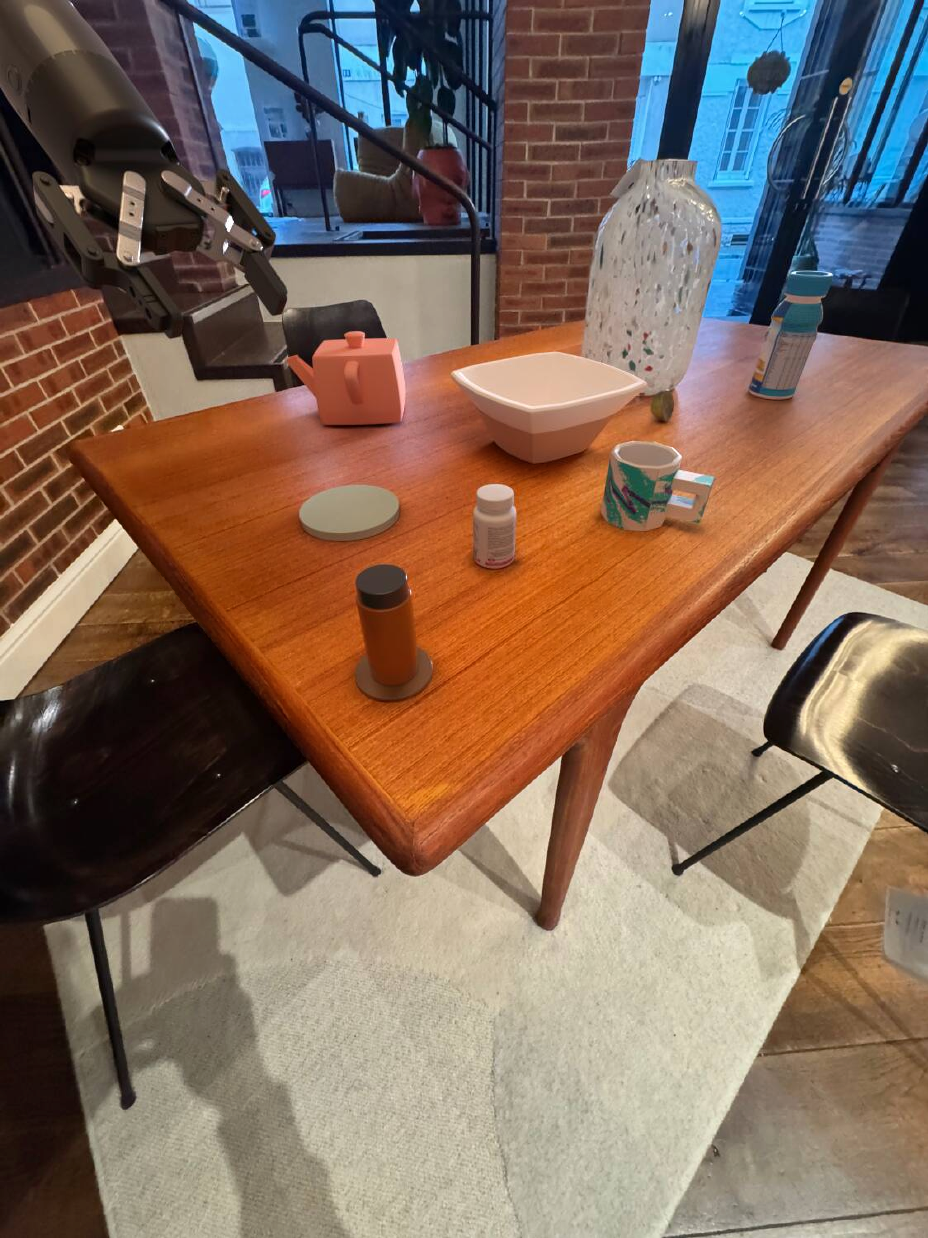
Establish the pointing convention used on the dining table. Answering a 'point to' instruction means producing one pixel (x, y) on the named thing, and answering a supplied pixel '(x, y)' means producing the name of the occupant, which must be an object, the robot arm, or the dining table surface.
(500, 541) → the pill bottle
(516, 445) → the bowl
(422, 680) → the coaster
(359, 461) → the dining table surface
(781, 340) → the beverage bottle
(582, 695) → the dining table surface
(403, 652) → the spice bottle
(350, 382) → the teapot
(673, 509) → the mug
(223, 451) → the dining table surface
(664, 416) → the lime
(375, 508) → the plate
